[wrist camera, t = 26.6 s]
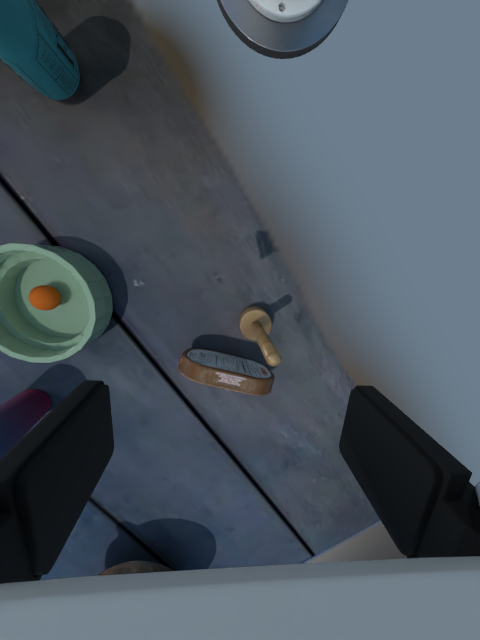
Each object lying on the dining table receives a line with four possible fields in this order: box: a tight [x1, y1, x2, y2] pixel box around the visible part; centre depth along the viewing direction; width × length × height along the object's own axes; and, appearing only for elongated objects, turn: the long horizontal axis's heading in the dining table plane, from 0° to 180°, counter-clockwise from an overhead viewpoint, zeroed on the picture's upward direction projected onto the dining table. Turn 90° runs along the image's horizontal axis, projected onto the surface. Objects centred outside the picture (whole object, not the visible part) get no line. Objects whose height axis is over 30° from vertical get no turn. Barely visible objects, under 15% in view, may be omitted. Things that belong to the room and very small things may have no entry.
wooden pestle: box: [239, 306, 281, 367], centre depth 32 cm, size 5×5×16 cm
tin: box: [178, 348, 274, 396], centre depth 37 cm, size 15×3×8 cm, turn 74°
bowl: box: [0, 243, 113, 363], centre depth 34 cm, size 16×16×6 cm
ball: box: [29, 285, 61, 310], centre depth 34 cm, size 4×4×4 cm
